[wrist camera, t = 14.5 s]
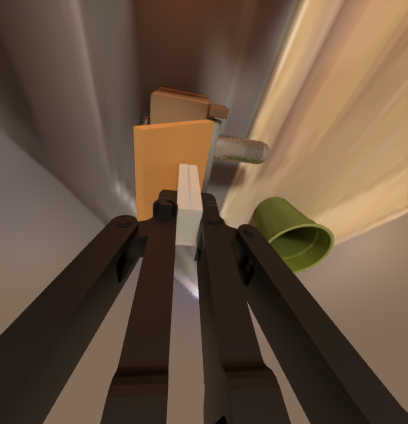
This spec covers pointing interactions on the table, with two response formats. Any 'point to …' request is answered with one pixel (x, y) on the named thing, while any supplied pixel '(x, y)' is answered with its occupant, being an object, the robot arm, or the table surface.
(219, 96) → the table surface
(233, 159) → the pin
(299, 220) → the plant pot
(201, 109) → the hitch block
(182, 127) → the plate
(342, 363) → the robot arm
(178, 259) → the table surface
